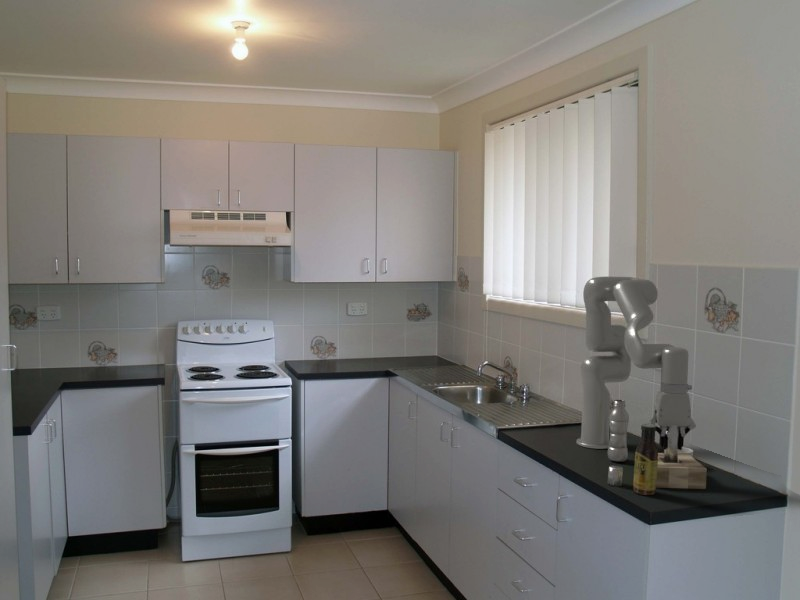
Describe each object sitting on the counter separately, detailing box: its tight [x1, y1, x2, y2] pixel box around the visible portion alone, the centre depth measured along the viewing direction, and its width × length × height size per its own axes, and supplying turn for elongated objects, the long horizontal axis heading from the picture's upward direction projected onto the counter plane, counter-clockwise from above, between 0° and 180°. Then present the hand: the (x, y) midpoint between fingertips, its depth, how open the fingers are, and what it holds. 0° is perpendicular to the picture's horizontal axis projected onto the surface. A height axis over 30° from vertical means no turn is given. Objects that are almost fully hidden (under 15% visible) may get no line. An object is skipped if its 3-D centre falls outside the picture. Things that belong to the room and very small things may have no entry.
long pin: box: [663, 425, 679, 463], centre depth 231 cm, size 4×4×12 cm
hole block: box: [656, 452, 708, 490], centre depth 232 cm, size 16×16×6 cm
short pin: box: [607, 465, 624, 487], centre depth 227 cm, size 4×4×5 cm
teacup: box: [678, 446, 694, 458], centre depth 247 cm, size 10×8×5 cm
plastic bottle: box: [607, 399, 630, 463], centre depth 251 cm, size 6×7×20 cm
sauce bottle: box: [632, 423, 659, 496], centre depth 219 cm, size 7×6×20 cm
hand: (671, 448), depth 232 cm, fingers closed on long pin, 4 cm apart
